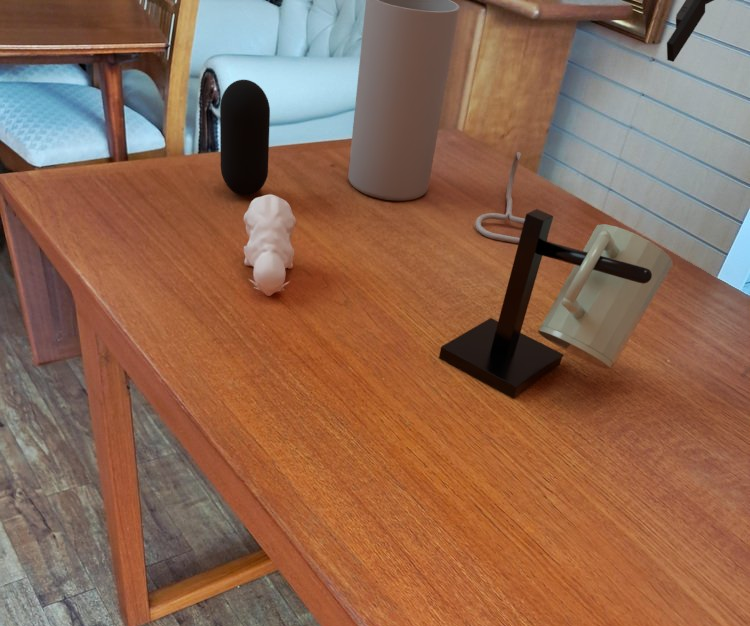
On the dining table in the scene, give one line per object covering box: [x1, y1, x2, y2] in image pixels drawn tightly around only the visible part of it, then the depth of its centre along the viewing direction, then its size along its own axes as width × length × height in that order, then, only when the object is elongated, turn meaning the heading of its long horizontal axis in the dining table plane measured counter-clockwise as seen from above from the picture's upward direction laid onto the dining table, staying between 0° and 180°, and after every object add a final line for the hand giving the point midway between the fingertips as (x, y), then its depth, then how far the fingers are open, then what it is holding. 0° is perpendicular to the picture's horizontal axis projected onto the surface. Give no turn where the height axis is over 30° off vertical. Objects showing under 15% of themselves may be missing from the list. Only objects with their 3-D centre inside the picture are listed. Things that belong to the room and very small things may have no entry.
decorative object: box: [219, 79, 271, 197], centre depth 108 cm, size 7×7×15 cm
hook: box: [474, 151, 525, 245], centre depth 118 cm, size 7×9×20 cm
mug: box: [537, 223, 674, 371], centre depth 80 cm, size 13×9×12 cm
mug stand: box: [438, 208, 652, 399], centre depth 81 cm, size 18×10×17 cm, turn 50°
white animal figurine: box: [243, 193, 297, 297], centre depth 93 cm, size 6×8×12 cm
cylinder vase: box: [347, 0, 460, 202], centre depth 114 cm, size 12×12×25 cm
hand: (726, 70), depth 86 cm, fingers open, 13 cm apart
